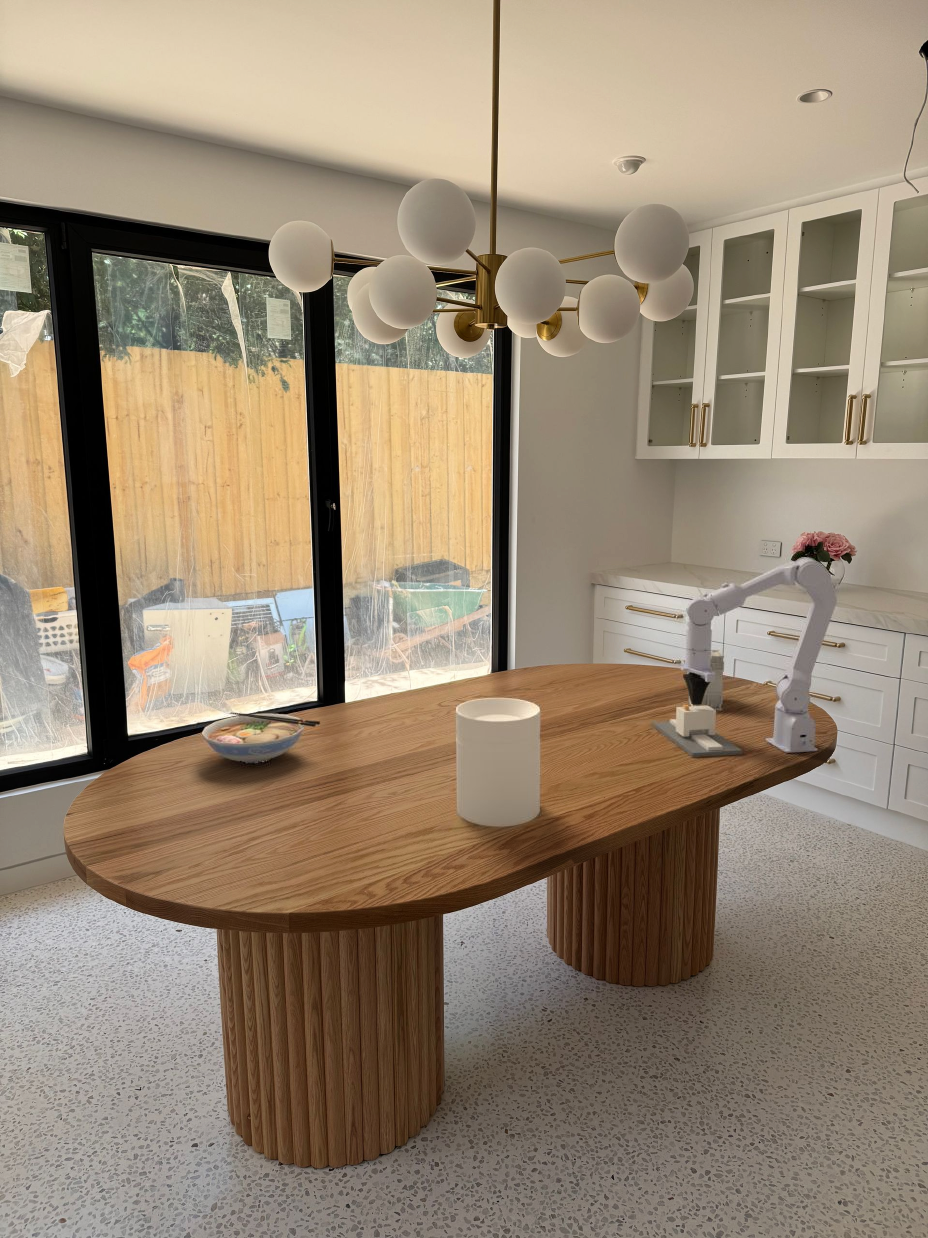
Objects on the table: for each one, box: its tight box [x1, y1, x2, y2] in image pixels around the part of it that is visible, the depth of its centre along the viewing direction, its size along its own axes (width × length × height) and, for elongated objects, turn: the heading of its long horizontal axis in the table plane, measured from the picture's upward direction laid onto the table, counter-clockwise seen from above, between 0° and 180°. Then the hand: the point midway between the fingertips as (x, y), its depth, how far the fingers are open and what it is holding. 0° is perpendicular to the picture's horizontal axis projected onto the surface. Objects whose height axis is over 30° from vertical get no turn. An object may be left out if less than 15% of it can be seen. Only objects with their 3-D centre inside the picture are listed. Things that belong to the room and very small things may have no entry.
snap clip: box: [689, 729, 703, 734], centre depth 198 cm, size 3×2×1 cm
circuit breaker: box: [686, 649, 725, 711], centre depth 229 cm, size 8×14×15 cm, turn 174°
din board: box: [651, 718, 743, 758], centre depth 198 cm, size 24×12×2 cm, turn 9°
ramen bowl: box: [201, 711, 321, 764], centre depth 187 cm, size 25×23×8 cm
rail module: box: [675, 704, 717, 737], centre depth 198 cm, size 4×8×7 cm, turn 99°
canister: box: [455, 697, 541, 828], centre depth 156 cm, size 16×16×20 cm
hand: (696, 704), depth 197 cm, fingers closed
